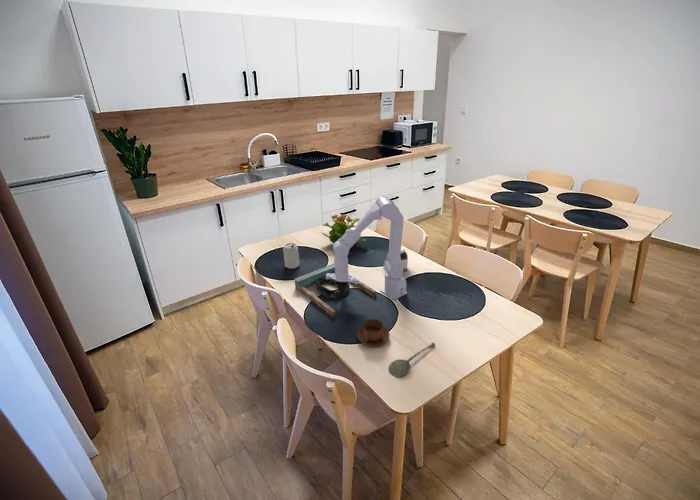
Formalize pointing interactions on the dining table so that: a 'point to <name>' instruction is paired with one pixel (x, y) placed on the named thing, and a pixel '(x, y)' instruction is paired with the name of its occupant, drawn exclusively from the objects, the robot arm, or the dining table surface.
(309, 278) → the guide channel
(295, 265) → the can
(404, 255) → the spread jar
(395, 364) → the soupspoon
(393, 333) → the dining table surface
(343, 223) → the potted flower
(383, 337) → the cup and saucer
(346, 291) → the cable
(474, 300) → the dining table surface
